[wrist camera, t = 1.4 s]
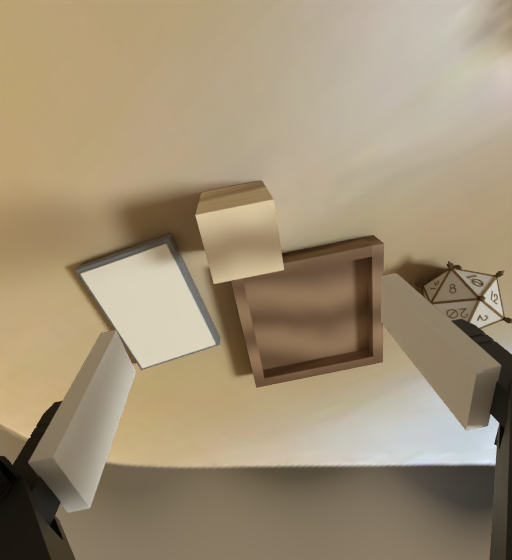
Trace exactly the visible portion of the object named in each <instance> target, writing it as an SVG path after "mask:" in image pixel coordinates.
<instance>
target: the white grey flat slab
mask: <svg viewBox="0 0 512 560" xmlns="http://www.w3.org/2000/svg"><path fill="white" fill-rule="evenodd" d="M75 271H76V272H77V274H78V275H79V277H80V278H81V280H82V281H83V283H84V284H85V286H86V287H87V289H88V290H89V292H90V293H91V295H92V296H93V298H94V300H95V301H96V303H97V304H98V306H99V307H100V309H101V310H102V312H103V313H104V315H105V316H106V318H107V319H108V321H109V322H110V324H111V325H112V327H113V328H114V330H117V332H118V335H119V337H120V339H121V340H122V342H123V343H124V345H125V346H126V348H127V349H128V351H129V352H130V354H131V355H132V357H133V358H134V360H135V361H136V363H137V364H138V366H139V367H140V369H141V370H143V369H146V368H149V367H152V366H155V365H158V364H162V363H165V362H168V361H171V360H174V359H177V358H180V357H183V356H186V355H189V354H192V353H195V352H199V351H202V350H205V349H208V348H211V347H214V346H217V345H220V336H219V334H218V332H217V330H216V328H215V326H214V323H213V321H212V319H211V317H210V315H209V313H208V311H207V309H206V307H205V305H204V302H203V300H202V298H201V296H200V294H199V292H198V290H197V288H196V286H195V284H194V281H193V279H192V277H191V275H190V273H189V271H188V269H187V267H186V265H185V263H184V260H183V258H182V256H181V254H180V252H179V250H178V248H177V246H176V244H175V241H174V239H173V237H172V235H171V234H168V235H165V236H162V237H159V238H156V239H153V240H151V241H148V242H145V243H142V244H139V245H136V246H133V247H131V248H128V249H125V250H122V251H119V252H116V253H113V254H110V255H108V256H105V257H102V258H99V259H96V260H93V261H90V262H88V263H85V264H82V265H80V266H79V267H78V268H77V269H76V270H75Z"/></svg>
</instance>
